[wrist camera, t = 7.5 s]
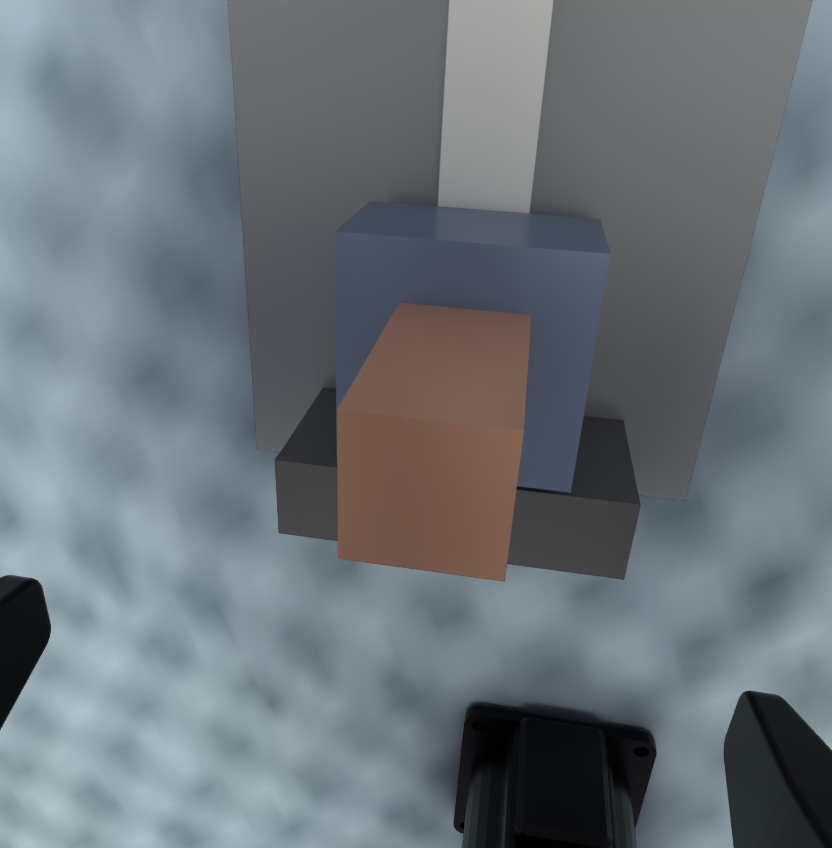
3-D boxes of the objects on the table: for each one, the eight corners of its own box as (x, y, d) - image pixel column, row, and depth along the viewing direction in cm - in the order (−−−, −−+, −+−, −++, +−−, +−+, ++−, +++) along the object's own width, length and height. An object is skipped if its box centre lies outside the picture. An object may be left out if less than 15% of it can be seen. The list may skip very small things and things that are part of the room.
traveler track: (679, 481, 21) (714, 599, 16) (268, 433, 22) (198, 529, 18) (987, -771, 11) (1292, -1336, 6) (205, -710, 12) (11, -1138, 8)
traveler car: (567, 427, 18) (578, 657, 11) (366, 404, 19) (262, 610, 12) (600, 219, 16) (639, 350, 9) (369, 200, 16) (241, 311, 9)
